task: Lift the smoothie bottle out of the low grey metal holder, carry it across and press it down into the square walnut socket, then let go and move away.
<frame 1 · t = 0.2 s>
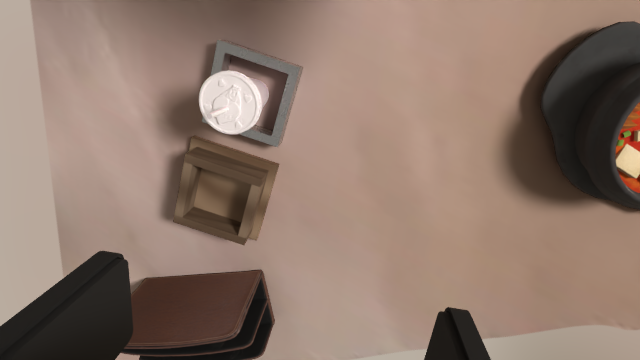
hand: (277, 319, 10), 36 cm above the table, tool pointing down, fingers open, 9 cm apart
socket: (227, 188, 49), on the table
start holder: (254, 93, 44), on the table
letter holder: (211, 297, 57), on the table
smoothie: (255, 93, 44), resting in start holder
casserole: (629, 122, 41), on the table
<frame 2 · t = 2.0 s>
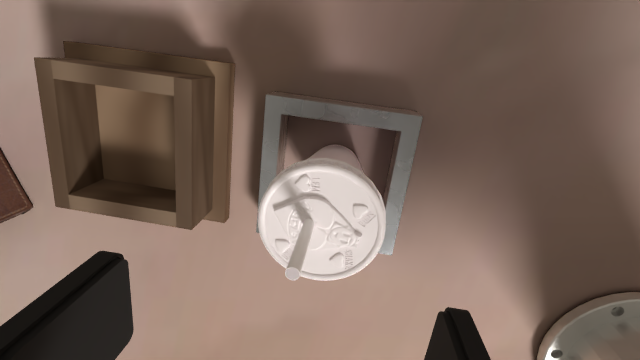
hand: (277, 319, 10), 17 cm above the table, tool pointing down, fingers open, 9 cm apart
socket: (156, 134, 27), on the table
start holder: (335, 168, 26), on the table
smoothie: (335, 167, 26), resting in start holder
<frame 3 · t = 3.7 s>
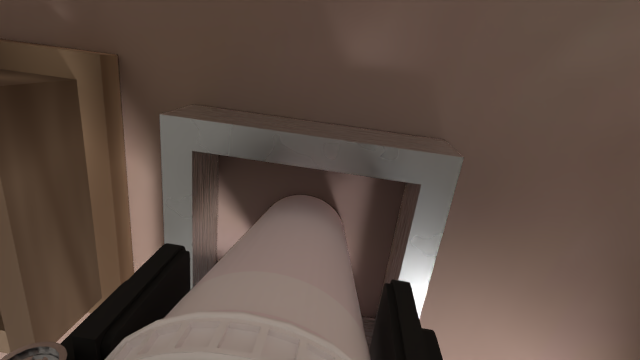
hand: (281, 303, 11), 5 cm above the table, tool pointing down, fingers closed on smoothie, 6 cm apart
socket: (1, 176, 16), on the table
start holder: (303, 233, 15), on the table
smoothie: (303, 231, 15), resting in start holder, touching gripper
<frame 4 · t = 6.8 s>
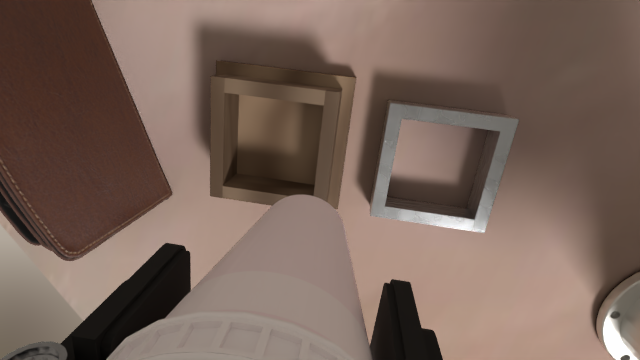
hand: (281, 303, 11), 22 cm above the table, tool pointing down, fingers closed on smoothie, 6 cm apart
socket: (282, 136, 32), on the table
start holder: (433, 162, 31), on the table
letter holder: (93, 112, 34), on the table
smoothie: (304, 231, 15), point 17 cm above the table, touching gripper
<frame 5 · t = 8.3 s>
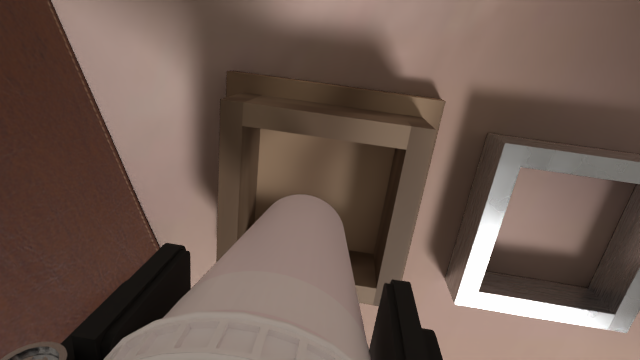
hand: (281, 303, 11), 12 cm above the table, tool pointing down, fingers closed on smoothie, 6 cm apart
socket: (322, 182, 22), on the table
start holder: (547, 224, 21), on the table
letter holder: (47, 139, 23), on the table
smoothie: (303, 231, 15), point 7 cm above the table, touching gripper
when the fingers open (6 cm above the table, at t = 9.8 s): smoothie stays where it is, resting on socket.
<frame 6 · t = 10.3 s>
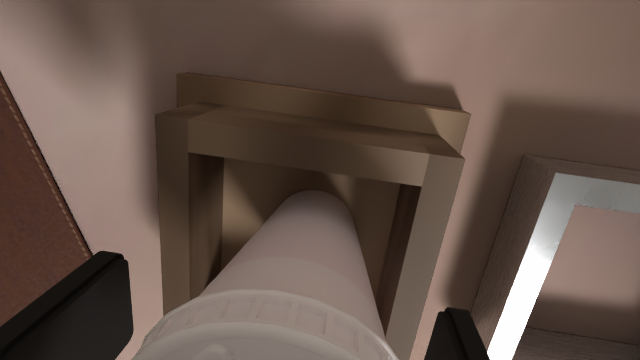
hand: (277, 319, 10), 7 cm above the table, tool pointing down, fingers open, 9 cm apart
socket: (307, 216, 17), on the table
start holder: (597, 270, 16), on the table
smoothie: (314, 225, 16), point 1 cm above the table, touching socket
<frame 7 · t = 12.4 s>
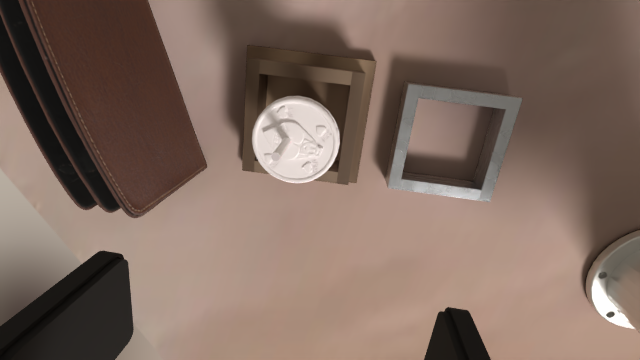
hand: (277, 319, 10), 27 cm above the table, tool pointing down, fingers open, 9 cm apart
socket: (306, 116, 35), on the table
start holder: (444, 139, 35), on the table
letter holder: (133, 86, 36), on the table
smoothie: (309, 118, 34), point 1 cm above the table, touching socket
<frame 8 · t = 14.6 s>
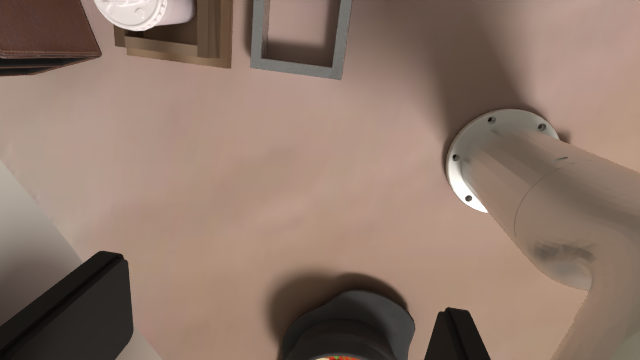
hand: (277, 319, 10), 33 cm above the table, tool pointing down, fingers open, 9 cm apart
socket: (180, 5, 39), on the table
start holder: (303, 25, 38), on the table
smoothie: (180, 5, 38), point 1 cm above the table, touching socket
casserole: (344, 345, 53), on the table
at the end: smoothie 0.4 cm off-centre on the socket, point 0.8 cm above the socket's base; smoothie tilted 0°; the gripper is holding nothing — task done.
